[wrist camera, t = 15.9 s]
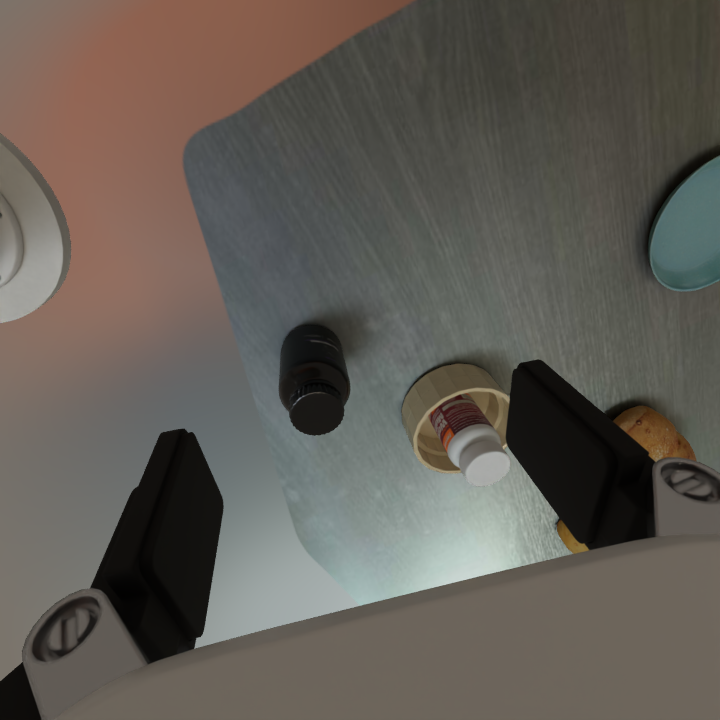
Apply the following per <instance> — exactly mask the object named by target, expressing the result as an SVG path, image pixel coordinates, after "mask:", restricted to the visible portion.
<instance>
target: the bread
mask: <svg viewBox="0 0 720 720" xmlns="http://www.w3.org/2000/svg"><path fill="white" fill-rule="evenodd" d="M613 422H614V423H616V424H617V425H618V426H619V427H620V428H621V429H623V430H624V431H625V432H626V433H627V434H628V435H630V436H631V437H632V438H633V439H634V440H635V441H637V442H638V443H639V444H640V445H641V446H642V447H644V448H645V449H646V450H647V451H648V452H649V455H648V456H650V457H651V458H652V459H653V460H654V461H655V462H657V461H658V460H659V459H663V458H666V457H680V458H687V459H691V460H694V461H696V457H695V454H694V452H693V449H692V448H691V446H690V444H689V442H688V441H687V440H686V439H685V438H684V437H683V436H682V435H681V434H680V433H678V432H677V431H676V429H675V427H674V425H673V424H672V423H671V422H670V421H669V420H668V419H667V418H665V417H664V416H663V415H661V414H659V413H658V412H656V411H654V410H653V409H651V408H649V407H647V406H636V407H633V408H630V409H627V410H625V411H624V412H623V413H621V414H620V415H619V416H618V417H617V418H615V419H614V420H613ZM557 532H558V534H559V536H560V538H561V539H562V541H563V542H564V544H565V545H566V547H567V548H568V549H569V550H570V551H571V552H572V553H574V554H576V553H580V552H585V551H589V549H588V548H587V547H586V545H585V544H581V543H579V542H578V541H577V540H576V539H575V538H574V537H573V535H572V534H571V533H570V531H569V530H568V528H567V527H566V526H565V524H564V523H563V522H562V520H560V521H559V522H558V524H557Z"/></svg>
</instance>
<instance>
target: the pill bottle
mask: <svg viewBox="0 0 720 720" xmlns="http://www.w3.org/2000/svg"><path fill="white" fill-rule="evenodd" d="M428 417H429V420H430V422H431V424H432V426H433V427H434V429H435V431H436V433H437V435H438V437H439V439H440V441H441V443H442V445H443V447H444V448H445V450H446V453H447V455H448V457H449V458H450V460H451V462H452V463H453V464H454V465H455V466H457V467H459V468H460V470H461V472H462V473H463V475H464V477H465V479H466V480H467V482H468V483H470V484H471V485H474V486H478V487H483V486H489V485H492V484H494V483H496V482H498V481H499V480H501V479H502V478H503V477H504V476H505V475H506V474H507V473H508V471H509V469H510V465H511V461H510V458H509V456H508V455H507V453H506V452H505V450H504V449H503V447H502V446H501V440H500V437H499V435H498V433H497V431H496V430H495V429H494V427H493V426H492V425H491V423H490V422H489V421H488V419H487V418H486V417H485V415H484V414H483V412H482V411H481V410H480V408H479V407H478V405H477V404H476V402H475V401H474V400H473V398H472V397H471V396H470V395H469V394H468V393H464V394H459V395H457V396H455V397H453V398H451V399H449V400H447V401H445V402H443V403H442V404H441V405H439V406H438V407H437V408H436V409H434V410H433V411H432V412H431V413H430V414H429V415H428Z"/></svg>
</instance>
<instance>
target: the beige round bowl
mask: <svg viewBox="0 0 720 720" xmlns="http://www.w3.org/2000/svg"><path fill="white" fill-rule="evenodd" d="M464 393H468V394H469V395H470V396H471V397H472V398H473V400H474V401H475V402H476V404H477V405H478V407H479V408H480V410H481V411H482V412H483V414H484V415H485V417H486V418H487V419H488V421H489V422H490V423H491V425H492V426H493V427H494V429H495V430H496V431H497V433H498V435H499V437H500V440H501V446H502V447H503V449H505V448H506V447H507V446H508V445H507V443H506V427H507V418H508V410H509V401H510V398H509V396H508V395H507V394H506V393H505V392H504V391H503V390H502V388H501V387H500V386H499V385H498V384H497V383H496V381H495V380H494V379H493V378H492V377H491V376H490V375H489V374H488V373H487V371H485V370H483V369H481V368H479V367H477V366H474V365H469V364H453V365H448V366H443V367H440V368H438V369H436V370H434V371H432V372H430V373H428V374H426V375H425V376H424V377H422V378H421V379H420V380H419V381H418V382H416V383H415V384H414V385H413V387H412V388H411V390H410V391H409V393H408V394H407V396H406V397H405V400H404V403H403V407H402V411H401V412H402V423H403V425H404V428H405V430H406V433H407V435H408V438H409V440H410V443H411V445H412V447H413V450H414V452H415V454H416V456H417V458H418V459H419V461H420V462H421V463H422V464H424V465H425V466H426V467H428V468H429V469H431V470H434V471H437V472H441V473H462V472H461V470H460V468H459V467H457V466H455V465H454V464H453V463H452V462H451V460H450V458H449V457H448V455H447V453H446V450H445V448H444V447H443V445H442V443H441V441H440V439H439V437H438V435H437V433H436V431H435V429H434V427H433V426H432V424H431V422H430V420H429V417H428V415H429V414H430V413H431V412H432V411H433V410H434V409H436V408H437V407H438V406H439V405H441V404H442V403H443V402H445V401H447V400H449V399H451V398H453V397H455V396H457V395H459V394H464Z"/></svg>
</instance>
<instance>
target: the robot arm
mask: <svg viewBox="0 0 720 720" xmlns="http://www.w3.org/2000/svg"><path fill="white" fill-rule="evenodd" d="M0 212H1V213H2V214H1V213H0V288H1V287H2V286H4V285H5V284H7V283H8V282H9V281H10V280H11V279H12V278H13V277H14V275H15V274H16V273H17V271H18V269H19V267H20V265H21V262H22V256H23V237H22V233H21V230H20V226H19V223H18V220H17V218H16V216H15V214H14V212H13V210H12V208H11V206H10V205H9V204H8V202H7V201H6V199H5V198H4V197H3V195H2V194H1V192H0ZM506 443H507V445H508V447H509V449H510V450H511V452H512V453H513V454H514V456H515V457H516V459H517V460H518V461H519V463H520V464H521V465H522V467H523V468H524V470H525V471H526V472H527V474H528V475H529V476H530V478H531V479H532V481H533V482H534V483H535V485H536V486H537V487H538V489H539V490H540V491H541V493H542V494H543V496H544V497H545V498H546V500H547V501H548V502H549V504H550V505H551V507H552V508H553V509H554V511H555V512H556V513H557V515H558V516H559V518H560V519H561V520H562V522H563V523H564V524H565V526H566V527H567V528H568V530H569V531H570V533H571V534H572V535H573V537H574V538H575V539H576V540H577V541H578V542H579V543H581V544H585V545H586V547H587V548H588V549H589V551H585V552H580V553H576V554H571V555H567V556H563V557H559V558H555V559H551V560H546V561H542V562H538V563H534V564H530V565H526V566H521V567H517V568H513V569H509V570H505V571H500V572H496V573H492V574H488V575H484V576H480V577H476V578H472V579H467V580H463V581H459V582H455V583H451V584H447V585H443V586H439V587H435V588H431V589H427V590H423V591H418V592H414V593H410V594H406V595H402V596H398V597H394V598H390V599H386V600H382V601H378V602H374V603H370V604H366V605H362V606H358V607H354V608H350V609H346V610H342V611H338V612H334V613H330V614H326V615H322V616H318V617H314V618H310V619H306V620H303V621H298V622H294V623H290V624H286V625H282V626H278V627H274V628H271V629H267V630H262V631H259V632H255V633H251V634H248V635H244V636H240V637H236V638H233V639H229V640H226V641H222V642H218V643H214V644H211V645H207V646H203V647H200V648H196V649H194V647H195V642H196V638H198V637H201V636H202V634H203V631H204V626H205V621H206V614H207V608H208V602H209V595H210V590H211V583H212V577H213V571H214V565H215V558H216V552H217V546H218V540H219V534H220V527H221V521H222V515H223V499H222V496H221V494H220V491H219V489H218V486H217V484H216V482H215V480H214V477H213V475H212V473H211V471H210V468H209V466H208V464H207V461H206V459H205V457H204V455H203V452H202V450H201V448H200V446H199V443H198V441H197V439H196V436H195V435H194V433H193V432H190V433H188V432H187V431H186V430H185V429H178V430H172V431H167V432H163V433H161V434H160V436H159V438H158V440H157V443H156V445H155V447H154V450H153V452H152V455H151V457H150V459H149V462H148V464H147V467H146V469H145V471H144V474H143V476H142V479H141V481H140V483H139V486H138V487H136V488H135V489H134V490H133V491H132V493H131V495H130V497H129V499H128V501H127V504H126V506H125V508H124V511H123V513H122V515H121V518H120V520H119V522H118V525H117V527H116V529H115V531H114V534H113V536H112V538H111V541H110V543H109V545H108V548H107V550H106V553H105V555H104V557H103V560H102V562H101V564H100V566H99V569H98V571H97V574H96V576H95V578H94V581H93V583H92V585H91V588H90V589H83V590H79V591H77V592H74V593H72V594H70V595H68V596H66V597H65V598H63V599H61V600H60V601H58V602H57V603H55V604H54V605H53V606H52V607H51V608H50V609H49V610H47V611H46V612H45V613H44V614H43V615H42V616H41V618H40V619H39V620H38V621H37V623H36V624H35V625H34V626H33V628H32V630H31V631H30V633H29V635H28V636H27V638H26V640H25V644H24V647H23V650H22V660H23V662H22V663H21V664H20V665H19V666H18V667H16V668H15V669H14V670H13V671H12V672H11V673H9V674H8V675H7V676H6V677H5V678H4V679H3V680H2V681H0V720H720V473H718V472H717V471H715V470H714V469H712V468H710V467H708V466H706V465H704V464H702V463H700V462H697V461H694V460H691V459H687V458H680V457H666V458H663V459H659V460H658V461H657V462H655V461H654V460H653V459H652V458H651V457H650V456H648V455H649V452H648V451H647V450H646V449H645V448H644V447H642V446H641V445H640V444H639V443H638V442H637V441H635V440H634V439H633V438H632V437H631V436H630V435H628V434H627V433H626V432H625V431H624V430H623V429H621V428H620V427H619V426H618V425H617V424H616V423H614V422H613V421H612V420H611V419H610V418H608V417H607V416H606V415H605V414H604V413H603V412H601V411H600V410H599V409H598V408H597V407H596V406H594V405H593V404H592V403H591V402H590V401H589V400H587V399H586V398H585V397H584V396H583V395H582V394H580V393H579V392H578V391H577V390H576V389H575V388H573V387H572V386H571V385H570V384H569V383H568V382H566V381H565V380H564V379H563V378H562V377H561V376H559V375H558V374H557V373H556V372H555V371H554V370H552V369H551V368H550V367H549V366H548V365H547V364H545V363H544V362H543V361H541V360H533V361H528V362H523V363H520V364H519V365H518V367H517V369H514V371H513V374H512V383H511V392H510V401H509V410H508V418H507V427H506Z"/></svg>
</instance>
